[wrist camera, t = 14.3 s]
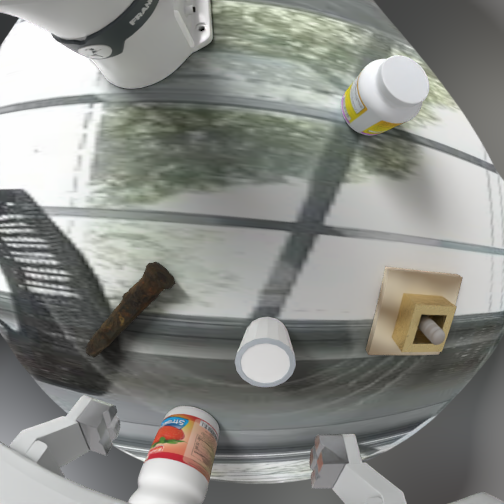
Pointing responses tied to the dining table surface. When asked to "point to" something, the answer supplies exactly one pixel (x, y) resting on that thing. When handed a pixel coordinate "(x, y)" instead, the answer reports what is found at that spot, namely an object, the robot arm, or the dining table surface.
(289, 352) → the shot glass
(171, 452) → the fruit juice
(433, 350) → the tan square frame block
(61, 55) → the dining table surface
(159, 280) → the hand tool
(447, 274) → the post stand
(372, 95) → the supplement bottle
